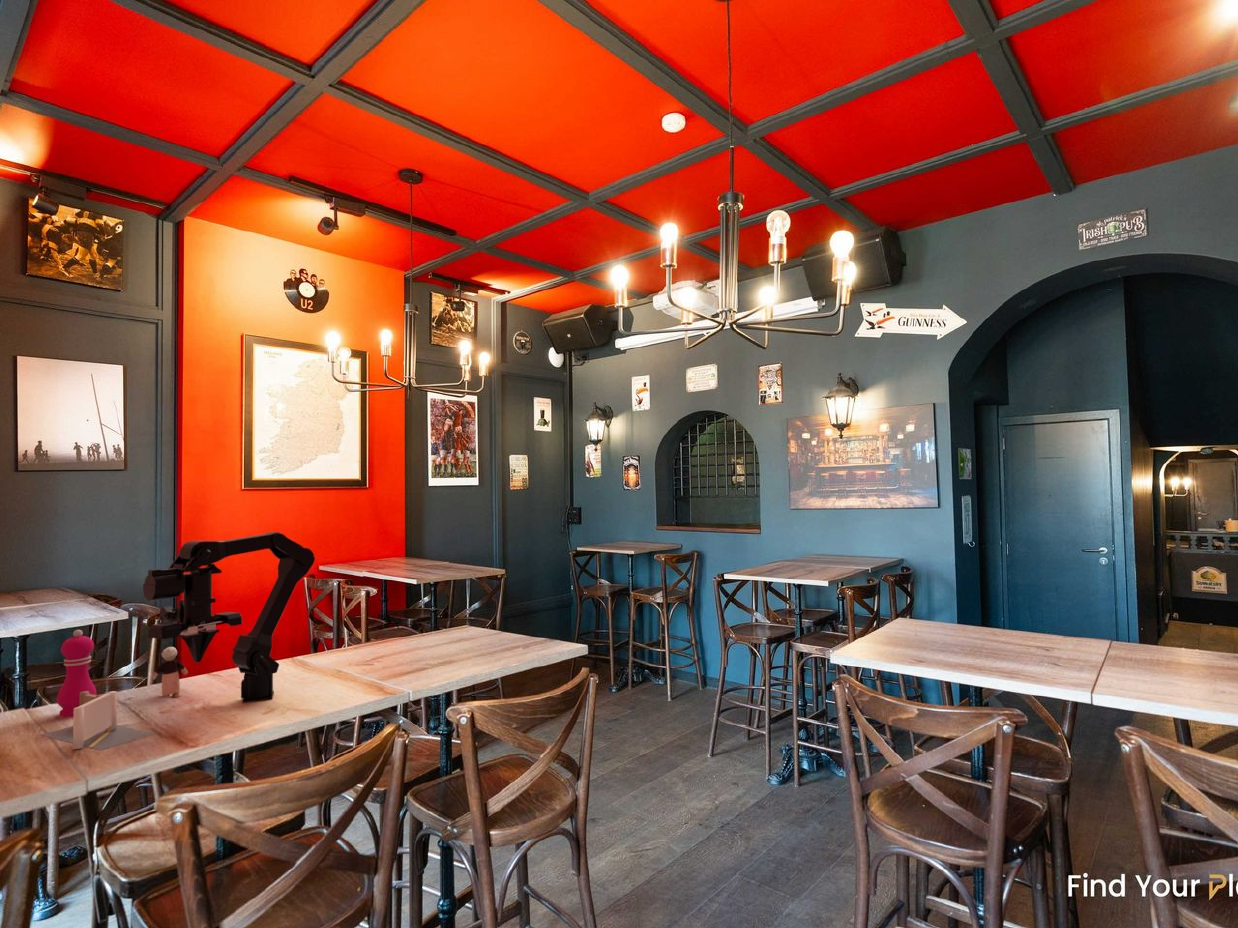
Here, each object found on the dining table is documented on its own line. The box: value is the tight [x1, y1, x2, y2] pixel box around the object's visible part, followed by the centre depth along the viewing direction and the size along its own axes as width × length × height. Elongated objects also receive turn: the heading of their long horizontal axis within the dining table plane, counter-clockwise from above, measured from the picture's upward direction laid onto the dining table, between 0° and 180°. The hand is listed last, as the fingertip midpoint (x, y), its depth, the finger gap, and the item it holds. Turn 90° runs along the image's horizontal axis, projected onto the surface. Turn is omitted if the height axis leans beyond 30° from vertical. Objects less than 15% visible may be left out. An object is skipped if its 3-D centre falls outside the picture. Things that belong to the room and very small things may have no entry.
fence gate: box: [72, 690, 118, 750], centre depth 139 cm, size 12×2×8 cm, turn 8°
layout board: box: [41, 691, 155, 751], centre depth 141 cm, size 23×10×8 cm, turn 64°
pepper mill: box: [56, 629, 97, 718], centre depth 157 cm, size 7×7×20 cm
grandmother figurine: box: [151, 646, 188, 699], centre depth 171 cm, size 8×4×13 cm, turn 149°
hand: (197, 662), depth 156 cm, fingers closed
